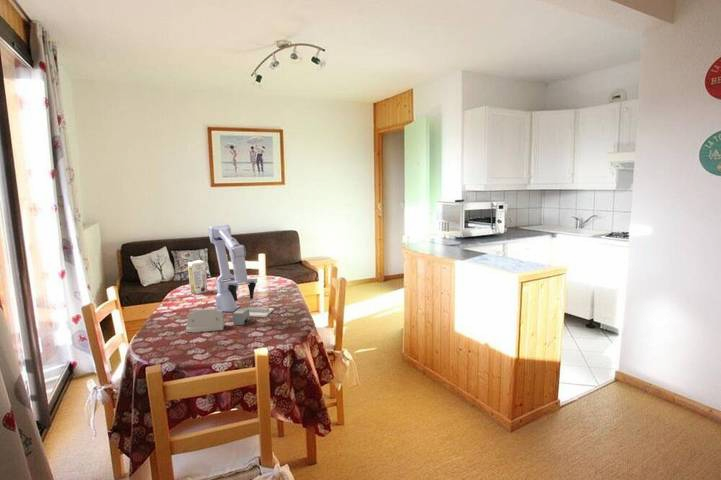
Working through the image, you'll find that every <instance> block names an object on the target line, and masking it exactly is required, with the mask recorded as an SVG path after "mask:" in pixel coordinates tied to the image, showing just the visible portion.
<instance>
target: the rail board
mask: <svg viewBox="0 0 721 480" xmlns="http://www.w3.org/2000/svg"><path fill="white" fill-rule="evenodd" d="M244 309H249V315H250V318H251V317H253V318H254V317H255V318H266V317H268V316H269V315H270V314H271V313H272V312H273V311H275V307H252V306H251V307H250V306H249V307H245V308H244Z"/></svg>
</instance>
